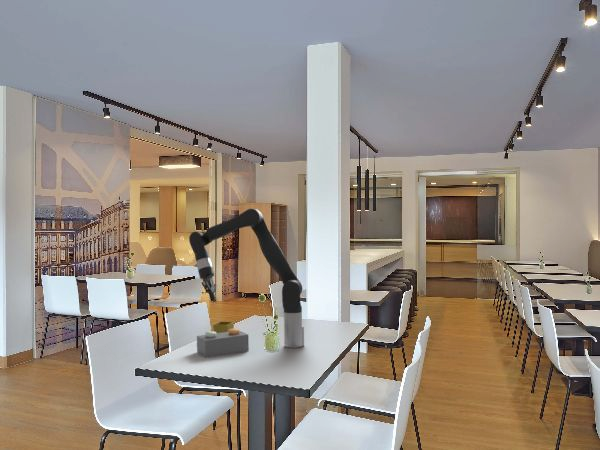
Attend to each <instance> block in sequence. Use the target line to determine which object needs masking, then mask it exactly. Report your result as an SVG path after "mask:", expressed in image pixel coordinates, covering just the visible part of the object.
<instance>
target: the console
mask: <svg viewBox="0 0 600 450" xmlns="http://www.w3.org/2000/svg"><path fill="white" fill-rule="evenodd" d="M249 345H250V343H249V334H248V333H246V332H244V331H241V330H239V334H236V335H230V334H229V332H223V333H216V337H214V338H206V337H205V334H202V335H197V336H196V352H198V353H197V354H199V355H200V354H201V356H202V357H203V356H204V359H205V358H207V357H208V358H213V356H214V357H220V356H226V355H231V354H240V353H243V352H249V351H250V350H249V349H250V348H249V347H250V346H249Z"/></svg>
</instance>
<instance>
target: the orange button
mask: <svg viewBox="0 0 600 450" xmlns="http://www.w3.org/2000/svg"><path fill="white" fill-rule="evenodd" d="M239 331H240V328H238V327H237V328H235V327H234V328H233V329H229V334H230V335H236V334H239Z"/></svg>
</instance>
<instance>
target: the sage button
mask: <svg viewBox="0 0 600 450" xmlns="http://www.w3.org/2000/svg"><path fill="white" fill-rule="evenodd" d="M204 335H205V337H206V338H214V337H216V332H215V331H214V330H213V331H212V330H211V331H210V330H209V331H206V332H205V333H204Z"/></svg>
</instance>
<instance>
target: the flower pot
mask: <svg viewBox="0 0 600 450" xmlns="http://www.w3.org/2000/svg"><path fill="white" fill-rule="evenodd" d="M212 328H213V331H215V332H216V333H223V332H229V329H233V328H235V322H234V321H218V322H215V323H213V324H212Z"/></svg>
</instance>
